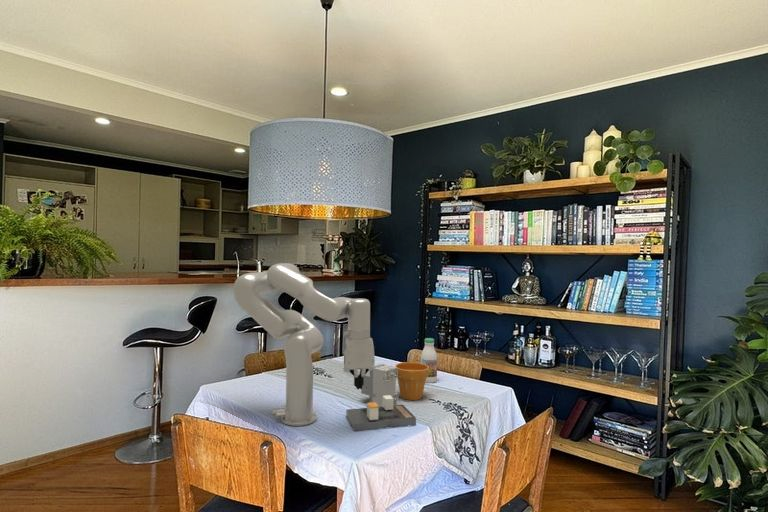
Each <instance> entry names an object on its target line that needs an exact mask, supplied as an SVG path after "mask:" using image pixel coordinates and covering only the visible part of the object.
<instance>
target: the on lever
mask: <svg viewBox="0 0 768 512" xmlns="http://www.w3.org/2000/svg"><path fill="white" fill-rule="evenodd" d="M382 407H383V408H384V409H385V410H392V409H393V398H392V396H391V395H386V396H383V401H382Z"/></svg>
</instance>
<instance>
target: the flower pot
mask: <svg viewBox="0 0 768 512" xmlns="http://www.w3.org/2000/svg"><path fill="white" fill-rule="evenodd" d="M394 367H397V371H398V378H397V384H398V388H399V395H400V397H401V398H402V399H403V400H406V401H407V400H408V401H418V400H420V399H422V398H423V394H424V389H425V385H426V378H427V377H428V376H429V366H427V365H426V364H422V363H421V362H416V361H408V362H407V361H403V362H399V363H397V364H395V365H394ZM395 376H396V374H395Z"/></svg>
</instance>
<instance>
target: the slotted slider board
mask: <svg viewBox="0 0 768 512" xmlns="http://www.w3.org/2000/svg"><path fill="white" fill-rule="evenodd" d="M345 412H346V413H345V414H346V415H345V416H346V419H347V420H348V422H349V424H350V426H351V428H352V429H353V431H354V432H363V431H371V430H372V429H373V430H380V429H379V428H383V429H387V428H386V427H393V428H396V427H395V426H402V427H409V426H408V425H412V426H417V418H416V416H415V415H414V414H413V413H412V412H411V411H410V410H409V409H408V408H407V407H406V406H405V405H404V404H397V405H394V406H393V409H392V410H385V409H384V408H383V407H379V408H378V419H377V420H369V418H368V417H367V407H363V408H361V407H360V408H351V409H346V411H345Z"/></svg>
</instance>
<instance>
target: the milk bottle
mask: <svg viewBox="0 0 768 512" xmlns="http://www.w3.org/2000/svg"><path fill="white" fill-rule="evenodd" d="M434 344H435V339H434V338H431V337H426V338H424V346H423V350H422V352H421V356H420V363H422V364H426V365H427V366H429V376H428V377H427V378H426V382H425V384H427V383H428V384H432V383H437V381H438V377H437V376H438V355H437V351H436V349H435V346H434Z"/></svg>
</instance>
